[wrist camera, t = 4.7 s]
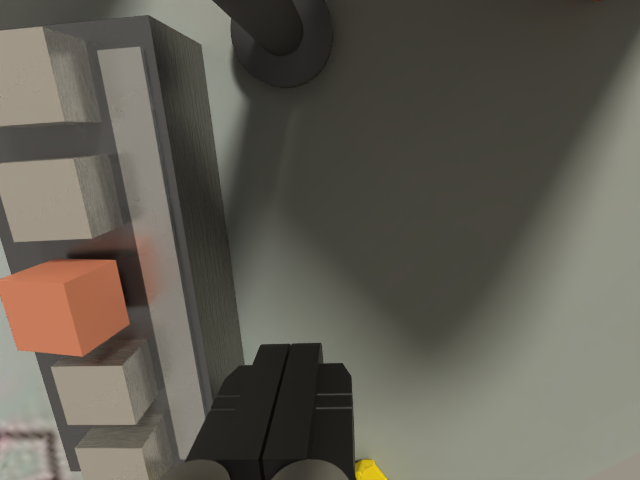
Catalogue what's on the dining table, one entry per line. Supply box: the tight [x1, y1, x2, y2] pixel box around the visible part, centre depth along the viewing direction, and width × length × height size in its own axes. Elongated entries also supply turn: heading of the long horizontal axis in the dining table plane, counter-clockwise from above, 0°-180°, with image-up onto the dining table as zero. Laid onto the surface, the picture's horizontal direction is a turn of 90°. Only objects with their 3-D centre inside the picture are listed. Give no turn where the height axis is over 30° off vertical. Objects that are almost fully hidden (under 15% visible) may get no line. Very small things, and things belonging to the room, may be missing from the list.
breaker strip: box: [0, 15, 245, 480], centre depth 18 cm, size 8×20×7 cm, turn 4°
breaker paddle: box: [0, 259, 130, 357], centre depth 15 cm, size 3×3×2 cm
